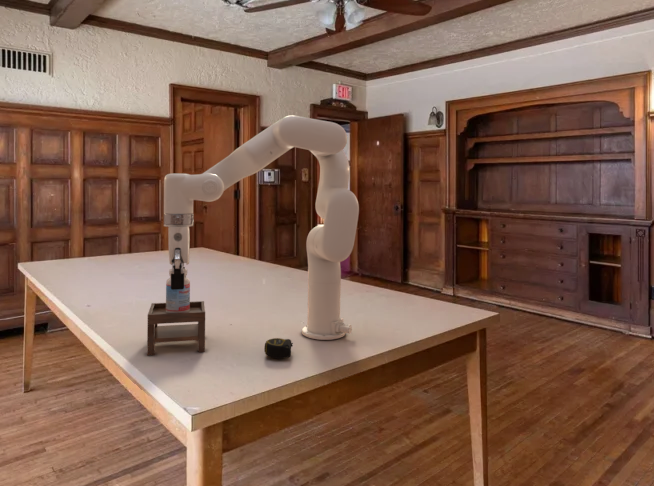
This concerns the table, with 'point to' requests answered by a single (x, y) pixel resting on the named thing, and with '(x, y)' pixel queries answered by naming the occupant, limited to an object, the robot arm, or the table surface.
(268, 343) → the tape measure
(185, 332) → the rack
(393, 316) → the table surface
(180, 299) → the pill bottle
